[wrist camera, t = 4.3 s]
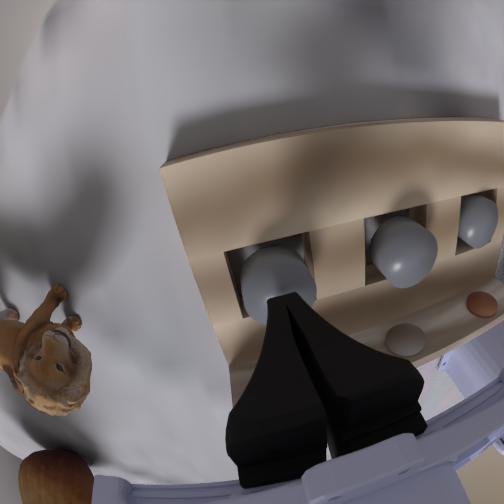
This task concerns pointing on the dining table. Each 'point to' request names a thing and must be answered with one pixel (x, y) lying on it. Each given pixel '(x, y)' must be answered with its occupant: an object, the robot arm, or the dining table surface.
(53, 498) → the butternut squash
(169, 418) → the dining table surface
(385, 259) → the button middle
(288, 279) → the button end
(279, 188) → the button board
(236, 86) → the dining table surface
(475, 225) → the button end
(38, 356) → the lion figurine
